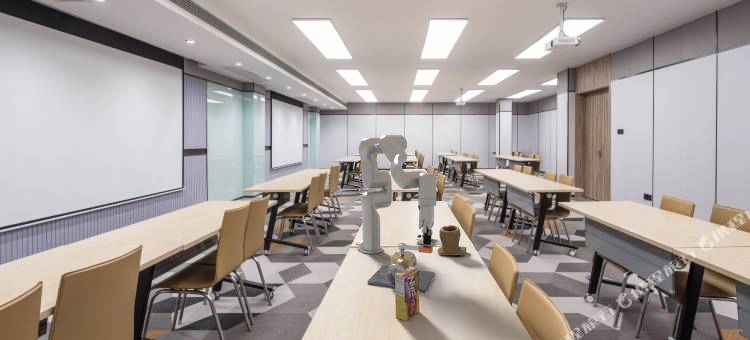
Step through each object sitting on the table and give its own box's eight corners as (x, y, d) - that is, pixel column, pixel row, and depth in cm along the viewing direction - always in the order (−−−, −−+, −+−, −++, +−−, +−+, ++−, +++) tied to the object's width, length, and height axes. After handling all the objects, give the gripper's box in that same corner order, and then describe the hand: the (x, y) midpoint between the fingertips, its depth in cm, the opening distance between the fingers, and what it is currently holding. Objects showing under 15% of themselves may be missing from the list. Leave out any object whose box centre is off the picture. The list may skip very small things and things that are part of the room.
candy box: (409, 307, 124) (409, 265, 123) (419, 311, 121) (420, 268, 120) (394, 317, 117) (394, 273, 116) (404, 321, 115) (405, 276, 113)
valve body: (367, 283, 144) (367, 253, 143) (382, 267, 162) (382, 240, 161) (425, 292, 136) (425, 260, 135) (434, 274, 154) (434, 246, 152)
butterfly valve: (429, 245, 194) (436, 234, 209) (418, 211, 193) (425, 203, 208) (415, 248, 197) (423, 237, 213) (403, 215, 196) (412, 206, 212)
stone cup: (438, 258, 175) (438, 228, 173) (437, 250, 187) (437, 222, 185) (469, 259, 173) (469, 229, 171) (466, 251, 185) (466, 223, 183)
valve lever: (397, 249, 147) (397, 245, 146) (399, 247, 150) (399, 242, 150) (431, 253, 142) (431, 248, 141) (432, 251, 145) (432, 246, 145)
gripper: (422, 198, 157) (422, 238, 158) (414, 204, 143) (414, 248, 144) (439, 199, 154) (439, 240, 156) (432, 205, 140) (432, 250, 142)
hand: (427, 244), depth 150 cm, fingers closed
